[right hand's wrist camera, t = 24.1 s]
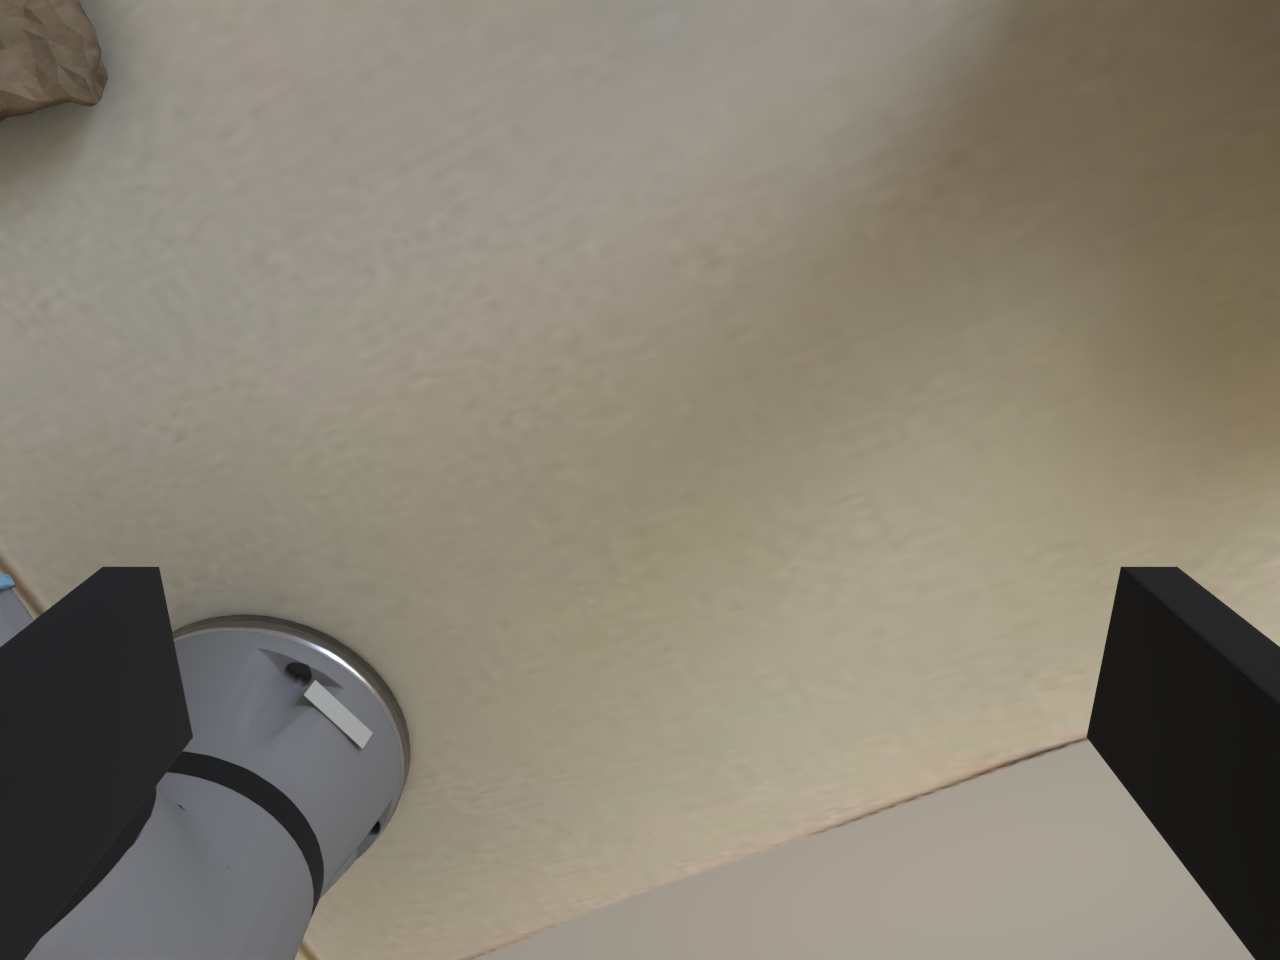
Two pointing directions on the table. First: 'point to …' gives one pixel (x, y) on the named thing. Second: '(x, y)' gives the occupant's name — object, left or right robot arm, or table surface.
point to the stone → (47, 56)
